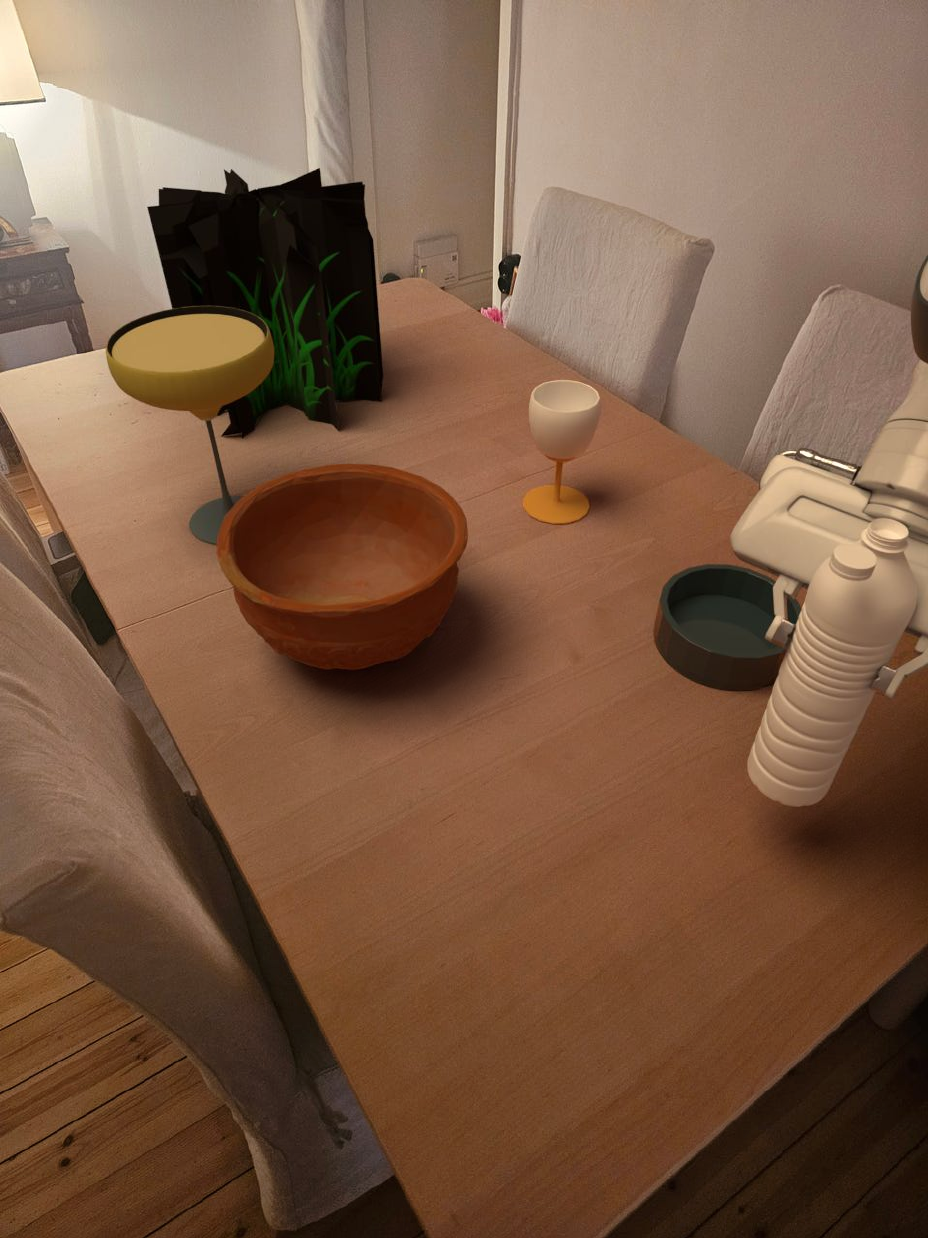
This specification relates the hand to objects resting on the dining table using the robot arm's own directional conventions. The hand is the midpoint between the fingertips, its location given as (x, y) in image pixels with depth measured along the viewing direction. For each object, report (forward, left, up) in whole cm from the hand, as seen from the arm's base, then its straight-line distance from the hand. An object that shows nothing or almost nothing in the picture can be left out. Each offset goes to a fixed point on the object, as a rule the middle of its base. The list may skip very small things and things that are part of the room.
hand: (826, 668), depth 57 cm
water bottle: (0, -1, -14) cm, 14 cm away
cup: (+42, -34, -23) cm, 58 cm away
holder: (+13, -23, -23) cm, 35 cm away
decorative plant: (+93, -34, -23) cm, 101 cm away
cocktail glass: (+74, -5, -23) cm, 78 cm away
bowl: (+46, +1, -23) cm, 51 cm away
